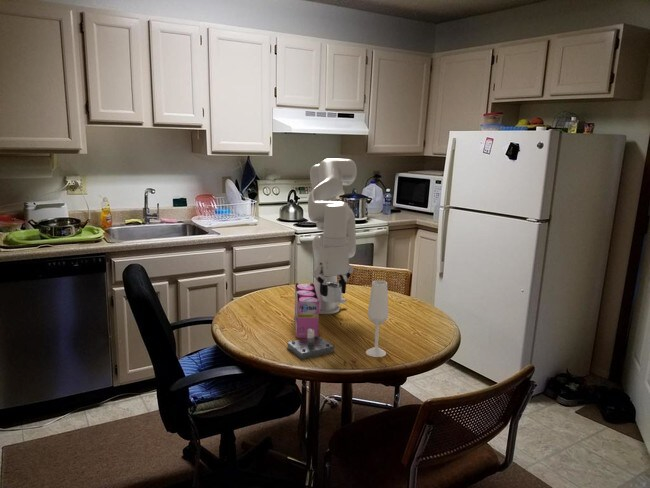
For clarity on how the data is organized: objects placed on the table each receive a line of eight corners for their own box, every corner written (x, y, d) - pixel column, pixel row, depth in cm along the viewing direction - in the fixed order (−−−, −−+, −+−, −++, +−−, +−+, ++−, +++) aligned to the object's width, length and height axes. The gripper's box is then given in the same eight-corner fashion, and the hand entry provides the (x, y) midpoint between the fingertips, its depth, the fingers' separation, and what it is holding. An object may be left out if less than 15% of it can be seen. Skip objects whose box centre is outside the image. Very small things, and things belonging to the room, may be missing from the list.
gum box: (293, 314, 191) (294, 282, 188) (313, 314, 191) (314, 282, 189) (296, 338, 167) (296, 301, 165) (318, 338, 168) (319, 301, 165)
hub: (334, 294, 166) (335, 280, 165) (345, 300, 160) (346, 286, 159) (318, 297, 162) (319, 283, 161) (329, 303, 157) (329, 288, 156)
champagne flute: (383, 348, 161) (387, 279, 156) (388, 356, 154) (392, 285, 150) (363, 348, 160) (367, 279, 155) (368, 357, 153) (371, 285, 149)
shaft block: (318, 341, 165) (318, 322, 164) (333, 351, 157) (334, 331, 155) (287, 347, 159) (287, 328, 158) (301, 359, 151) (302, 338, 149)
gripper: (349, 237, 165) (347, 287, 168) (306, 241, 155) (305, 294, 159) (362, 241, 159) (360, 293, 162) (318, 246, 149) (316, 300, 153)
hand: (332, 293), depth 160 cm, fingers closed on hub, 6 cm apart
